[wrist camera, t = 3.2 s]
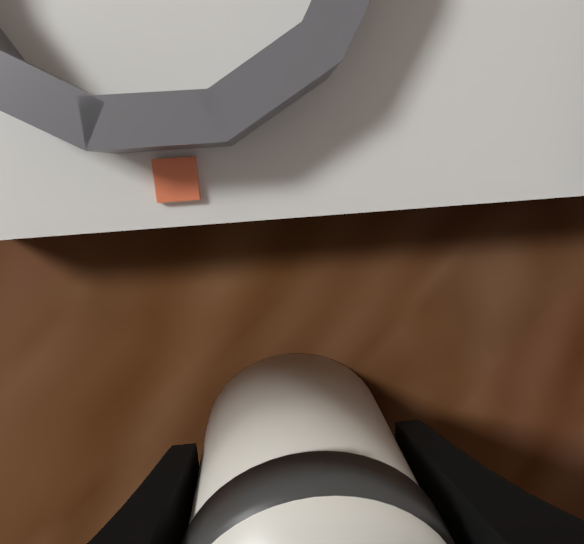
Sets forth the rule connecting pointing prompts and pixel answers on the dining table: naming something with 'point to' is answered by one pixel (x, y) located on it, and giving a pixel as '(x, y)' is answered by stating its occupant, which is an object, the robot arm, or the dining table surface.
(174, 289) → the dining table surface
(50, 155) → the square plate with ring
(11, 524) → the dining table surface
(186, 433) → the dining table surface
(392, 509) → the lens
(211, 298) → the dining table surface
